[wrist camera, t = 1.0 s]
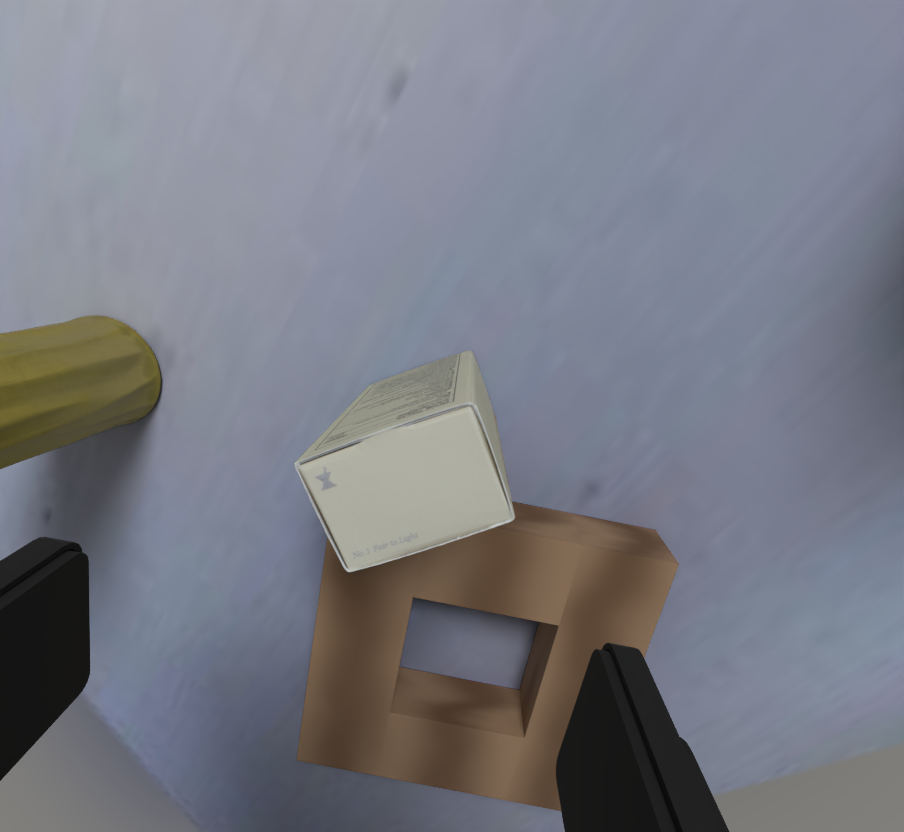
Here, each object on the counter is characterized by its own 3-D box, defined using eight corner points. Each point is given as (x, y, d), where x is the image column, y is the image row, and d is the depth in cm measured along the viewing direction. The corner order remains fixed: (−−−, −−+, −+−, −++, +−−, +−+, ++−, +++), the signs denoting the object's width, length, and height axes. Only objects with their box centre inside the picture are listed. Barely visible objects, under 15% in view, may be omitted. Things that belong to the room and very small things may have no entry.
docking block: (655, 530, 29) (678, 564, 26) (574, 761, 34) (585, 815, 31) (349, 469, 29) (333, 495, 25) (314, 711, 34) (296, 760, 30)
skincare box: (395, 453, 28) (340, 581, 17) (365, 381, 27) (284, 464, 16) (501, 419, 28) (520, 527, 16) (474, 342, 26) (474, 399, 15)
